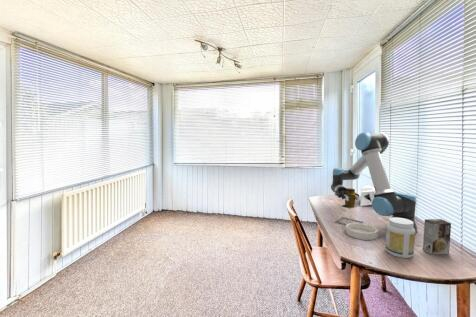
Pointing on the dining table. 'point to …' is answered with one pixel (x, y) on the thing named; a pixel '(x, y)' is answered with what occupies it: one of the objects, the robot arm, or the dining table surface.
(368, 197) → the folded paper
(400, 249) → the supplement tub
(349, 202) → the condiment
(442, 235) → the coffee box
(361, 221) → the grey square frame
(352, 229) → the bowl
